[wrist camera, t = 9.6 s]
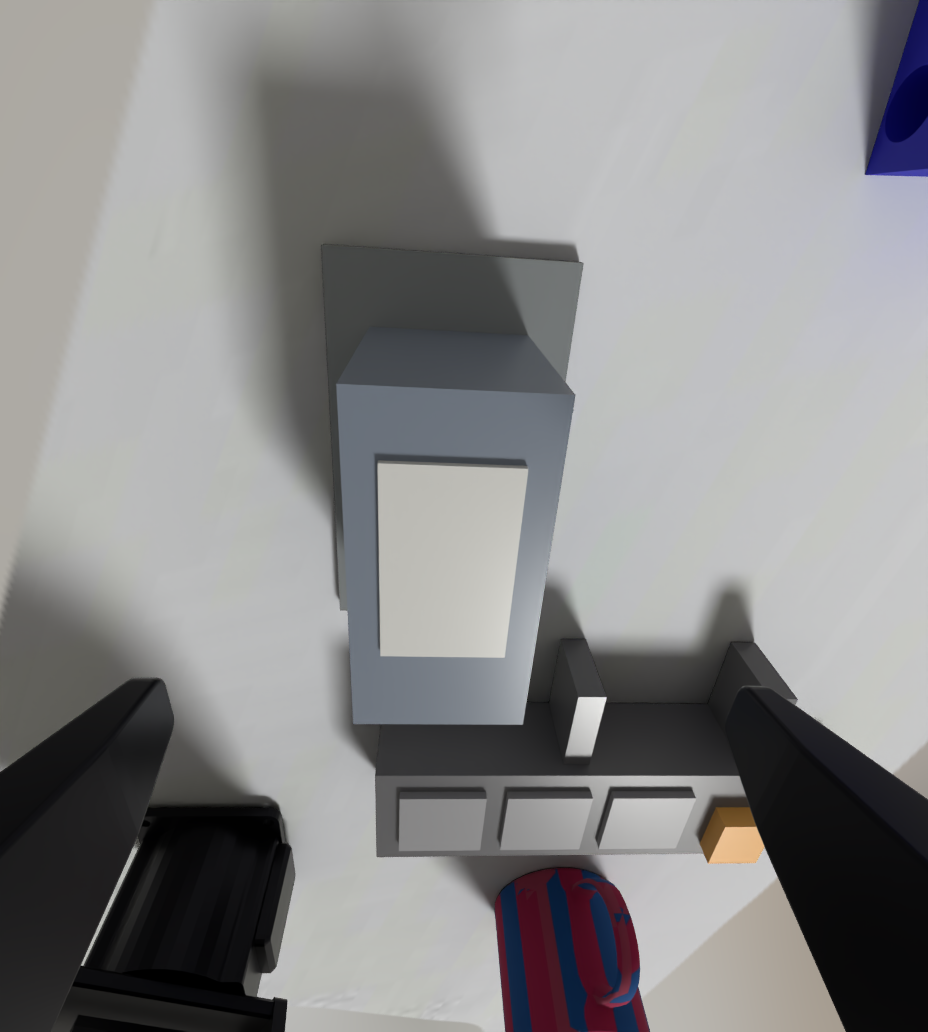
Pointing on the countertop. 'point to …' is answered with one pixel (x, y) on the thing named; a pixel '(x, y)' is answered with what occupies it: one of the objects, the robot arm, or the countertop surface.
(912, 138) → the cable clip
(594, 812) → the power strip
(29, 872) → the robot arm
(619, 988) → the mug
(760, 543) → the countertop surface
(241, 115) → the countertop surface
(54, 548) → the countertop surface
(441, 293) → the mat
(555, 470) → the block
